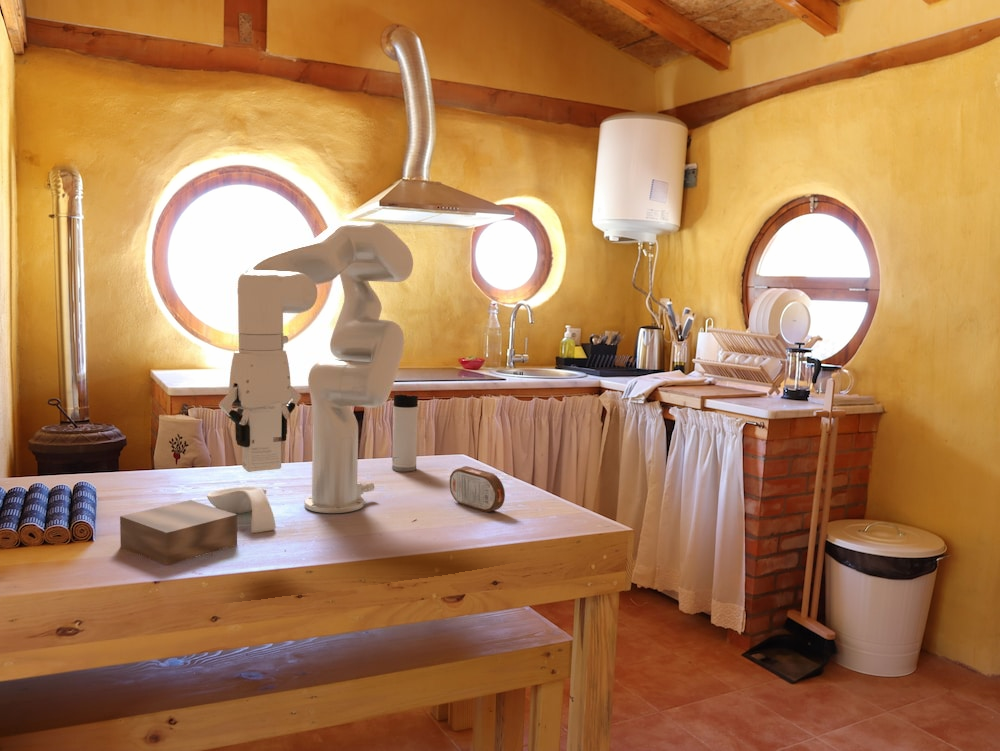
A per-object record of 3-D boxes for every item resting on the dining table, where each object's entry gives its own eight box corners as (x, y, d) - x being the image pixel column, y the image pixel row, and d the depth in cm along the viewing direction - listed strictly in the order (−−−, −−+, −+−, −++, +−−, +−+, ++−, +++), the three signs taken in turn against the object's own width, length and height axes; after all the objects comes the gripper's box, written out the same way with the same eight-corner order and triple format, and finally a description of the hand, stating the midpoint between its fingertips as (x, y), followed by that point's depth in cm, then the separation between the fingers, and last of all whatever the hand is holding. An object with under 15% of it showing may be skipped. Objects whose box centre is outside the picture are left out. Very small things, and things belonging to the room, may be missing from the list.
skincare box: (248, 473, 139) (247, 405, 138) (241, 467, 143) (240, 400, 141) (283, 469, 143) (282, 402, 141) (275, 463, 146) (274, 398, 145)
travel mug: (388, 471, 204) (390, 394, 202) (396, 465, 210) (397, 390, 208) (412, 473, 203) (414, 395, 201) (418, 467, 209) (420, 392, 207)
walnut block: (190, 530, 152) (190, 500, 152) (237, 546, 145) (237, 514, 144) (120, 549, 141) (120, 516, 140) (167, 567, 133) (166, 532, 132)
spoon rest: (200, 506, 168) (200, 473, 167) (255, 499, 175) (255, 467, 174) (234, 538, 149) (234, 500, 148) (295, 528, 156) (295, 493, 155)
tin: (505, 513, 171) (506, 475, 170) (495, 516, 168) (496, 477, 167) (456, 499, 181) (457, 462, 180) (446, 501, 178) (447, 464, 177)
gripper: (290, 339, 149) (290, 432, 151) (203, 344, 136) (205, 446, 138) (314, 342, 144) (314, 439, 146) (227, 348, 131) (229, 454, 133)
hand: (261, 442), depth 142 cm, fingers closed on skincare box, 6 cm apart
